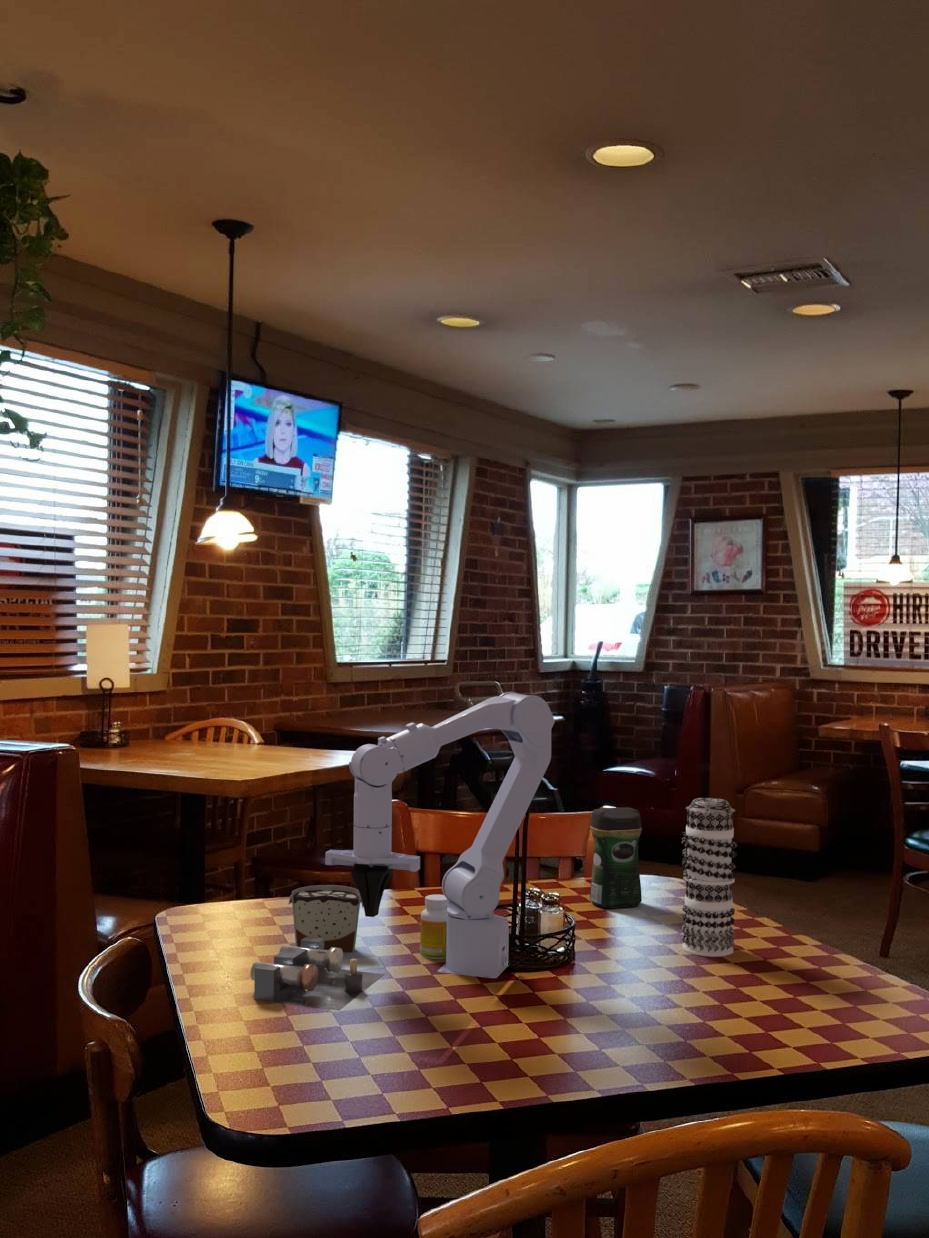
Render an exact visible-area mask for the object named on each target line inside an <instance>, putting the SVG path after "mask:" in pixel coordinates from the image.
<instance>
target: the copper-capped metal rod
mask: <svg viewBox="0 0 929 1238" xmlns="http://www.w3.org/2000/svg"><path fill="white" fill-rule="evenodd" d="M261 964H265V965H273V966H280V984H287V985H295V986H300V987H301V989H302V990H306V991H313V990H314V989H315V987H316V984H317V981H318V968H317V966H316V965H311V964H305V965H304V967H297V966H288V965H279V964H274V963H271V962H270V963H269V962H261V961H260V962H259V961H254V963H252V965H251V967H250V968H251V969H250V978H251V980H252V981H254V982H255V968H256V967H257V966H259V965H261Z"/></svg>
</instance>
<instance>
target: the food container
mask: <svg viewBox="0 0 929 1238" xmlns="http://www.w3.org/2000/svg"><path fill="white" fill-rule="evenodd" d="M290 904H291V905H292V916H293V926H294V927H293V928H294V939H295V947H301V940H302V939H304V938H305V937H313V938H322V939H324V950H329V949H330V948H331V947H335V948H341V949H342V951H343V953H355V949H356V944H357V943H356V941H357V932H358V923H359V916H360V908H361V907H362V908H364V907H363V903H362V899H361V896H360V893H359V890H358V888H355V887H350V886H346V885H337V884H336V885H335V884H326V885H324V884H322V885H321V884H319V885H309V886H304V887H299V888H296V889H294V890H292V891H291V895H290V896H289V900H288V905H290Z"/></svg>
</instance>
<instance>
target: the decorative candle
mask: <svg viewBox="0 0 929 1238" xmlns="http://www.w3.org/2000/svg"><path fill="white" fill-rule="evenodd" d="M685 809H686V810H687V811H686V814H687V815H686V826H685V831H682V832H681V835H683V837H682V838H681V844H682V845H684V847H685V848H684V849H683V850H682V857H683V858H682V862H681V864H682V866H683V867H684V868H685V869H684V870H683V872H682V878H683V880H685V894H684V905H683V906H682V912H684V914H683V915H682V918H681V919H682V921H684V923H683V924H682V926H681V931H682V932H683V934H682V936H681V940H682V942H683V943H682V950H683V951H685V952H686V953H688V954H691V955H696V956H700V957H710V958H716V957H717V958H718V957H720V958H721V957H726V956H730V955H732V954H734V947H733V945H734V944H735V938H733V936H734V935H735V931H736V930H735V929H734V928H733V926H732V925H734V924H735V918H734V917H733V916H734V915H735V912H736V911H735V909H734V908H733V896H732V893H733V891H732V890H733V887H732V886H733V885H732V884H733V883H735V878H736V877H737V876H736V873H734V872H733V870H734V869H736V868H737V865H736V864H735V863H734V862H733V861H732V859H734V858H736V857H737V856H738V852H736V851H734V849H735V848H737V847H738V843H737V842H736V841H734V840H732V839H733V838H734V834H735V832H734V831H735V829H734V825H733V823H734V819H733V818H734V816H733V815H734V812H736V809H735V808H732V807H731V804H730V803H729V801H727V800H725V799H722V798H718V797H716V798H715V797H698V798H695V799H693V800H692V801H691V803H690V805H689V806H686V807H685Z"/></svg>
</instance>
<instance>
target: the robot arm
mask: <svg viewBox="0 0 929 1238" xmlns="http://www.w3.org/2000/svg"><path fill="white" fill-rule="evenodd" d="M555 722H556V721H555V718H554V716H553V713H552V710H551V709H550V706H549V704H548V703H547V701H545V700H544V699H543V698H542V697H540V696H539V695H530V694H529V695H526V694H520V693H518V692H516V691H515V692H514V691H508V692H507V691H505V692H503V693H501V694H500V695H499V696H493V697H489V698H487V699H485V700H483V701H481V702H479V703H477V704H475V705H473V706H471V707H469V708H467V709H465V710H463V711H461V712H459V713H457V714H455V715H453V716H451V717H448V718H447V719H445V720H443V721H441V722H439V723H437V724H435V725H433V726H430V725H427V724H425V723H421V722H420V723H418V724H416V723H415V722H410V723H407V724H406V725H405V729H404V730H402V731H400V732H397V733H395V734H393V735H391V736H389V737H386V736H381V737H378V738H377V741H378V742H377V744H373V743H372V744H371V743H367V744H363V745H361V746H359V747H358V748H357V749H356V750H355V752H354V753H352V757H351V760H350V761H349V762H348V767H349V771H350V773H351V774H352V776H353V777H354V794H353V849H352V850H351V849H344V850H343V849H340V850H339V849H329V850H327V851H326V852H325V853H324V854H325V855H324V856H325V858H324V859H325V861H324V862H325V863H324V864H325V866H326V865H327V866H333V865H341V866H350V867H351V866H353V869H352V870H351V871H350V875H351V879H352V880H353V882H354V884H355V885H356V887H357V888H356V889H357V890H359V893H360V896H361V899H362V903H363V907H362V908H363V910H364V917H369V918H375V917H376V916H377V915H379V911H380V906H381V902H382V898H383V895H384V892H385V889H386V887H387V884H388V883H389V880H390V878H391V876H392V874H393V872H394V870H402V871H403V870H404V871H409V872H414V873H415V872H417V871H419V870H421V856H420V855H419V856H418V855H409V854H405V853H398V852H392V842H393V841H392V839H393V838H392V837H393V836H392V835H393V833H392V831H393V830H392V829H393V826H392V823H393V820H392V819H393V818H392V817H393V816H392V815H393V793H392V792H393V791H392V790H393V789H392V787H393V784H392V782H393V781H394V780H395V779H396V777H397V776H398V775H399V774H402V773H404V772H407V771H408V770H411V769H413V768H415V767H417V766H420V765H421V764H423V763H426V762H430V760H432V759H435V758H437V755H438V754H439V752H440V749H441V748H442V746H444V745H447V744H450V743H453V742H455V741H457V740H460V739H462V738H464V737H467V736H469V735H472V734H474V733H477V732H480V731H483V730H485V729H495V730H500V731H501V732H502V733H503V734H504V736H505V737H506V739H508V744H509V745H510V748H511V750H512V753H513V755H514V757H513V760H512V761H511V762H512V763H511V765H510V767H509V769H508V770H507V773H506V774H505V777H504V779H503V781H502V783H501V784H500V787H499V789H498V792H497V794H496V795H495V797H494V799H493V802H492V804H491V805H490V808H489V810H488V812H487V814H486V816H485V818H484V820H483V822H482V824H481V827H480V828H479V830H478V832H477V835H476V836H475V838H474V840H473V843H472V845H471V846H470V847H469V848H467V849H466V850H465V851H464V852H462V853H461V854H460V856H459V857H458V860H457V861H456V863H455V864H454V865H453V866H452V867H450V868H449V869H448V870H447V871H446V872H445V874H444V876H443V878H442V882H441V891H442V893H443V894H442V895H444V896H445V897H446V898H447V899H448V900H449V905H448V908H447V937H446V958H445V964H443V965H442V966H441V967H440V968H439V969H437V973H445V974H453V975H462V976H471V977H481V978H487V979H497V978H499V976H500V975H501V974H502V973H503V972H504V971H505V970H506V969H507V968H508V967H509V965H508V963H509V946H510V945H509V942H510V941H509V939H510V938H509V933H510V929H509V927H510V925H509V921H508V918H507V917H506V916H501V915H497V914H495V913H494V911H495V909H496V908H497V906H498V904H499V901H500V893H501V892H500V891H501V890H500V889H501V885H502V883H503V881H504V878H505V874H504V866H503V865H504V864H503V862H504V859H505V857H506V856H507V853H508V851H509V849H510V846H511V844H512V843H513V840H514V838H515V836H516V834H517V831H518V829H519V828H520V826H521V824H522V821H523V819H524V817H525V816H526V813H527V811H528V808H529V807H530V805H531V803H532V800H533V799H534V796H535V794H536V792H537V790H538V788H539V786H540V784H541V782H542V779H543V778H544V775H545V774H546V771H547V769H548V767H549V765H550V764H551V760H552V728H553V726H554V724H555ZM362 903H361V904H362Z"/></svg>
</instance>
